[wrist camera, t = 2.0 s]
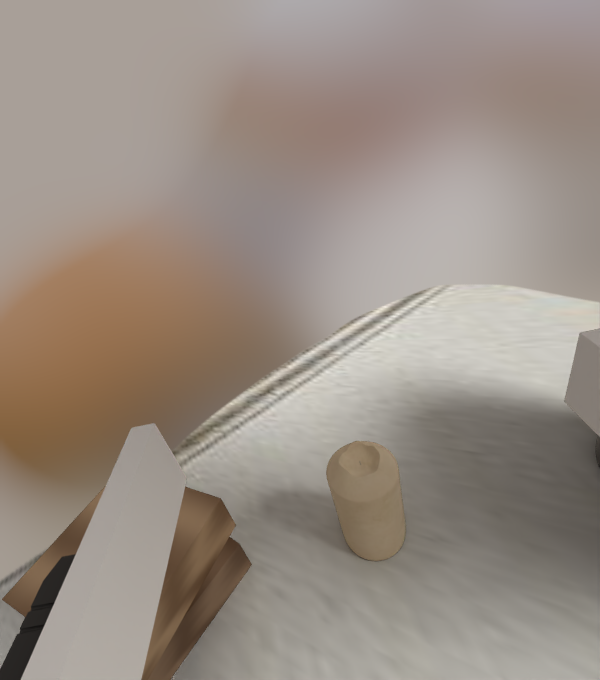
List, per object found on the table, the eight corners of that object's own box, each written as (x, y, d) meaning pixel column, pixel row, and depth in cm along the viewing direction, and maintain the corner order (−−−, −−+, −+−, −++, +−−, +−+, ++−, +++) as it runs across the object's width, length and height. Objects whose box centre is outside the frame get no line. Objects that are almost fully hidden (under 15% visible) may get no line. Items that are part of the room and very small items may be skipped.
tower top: (141, 491, 38) (123, 466, 36) (235, 525, 32) (220, 498, 30) (34, 621, 29) (1, 599, 27) (137, 697, 24) (107, 677, 22)
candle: (346, 565, 31) (325, 495, 26) (340, 505, 36) (321, 434, 30) (413, 558, 30) (405, 484, 25) (398, 497, 35) (388, 423, 30)
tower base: (174, 508, 40) (159, 485, 38) (253, 567, 33) (239, 544, 31) (69, 619, 33) (43, 599, 31) (141, 726, 26) (113, 710, 24)
